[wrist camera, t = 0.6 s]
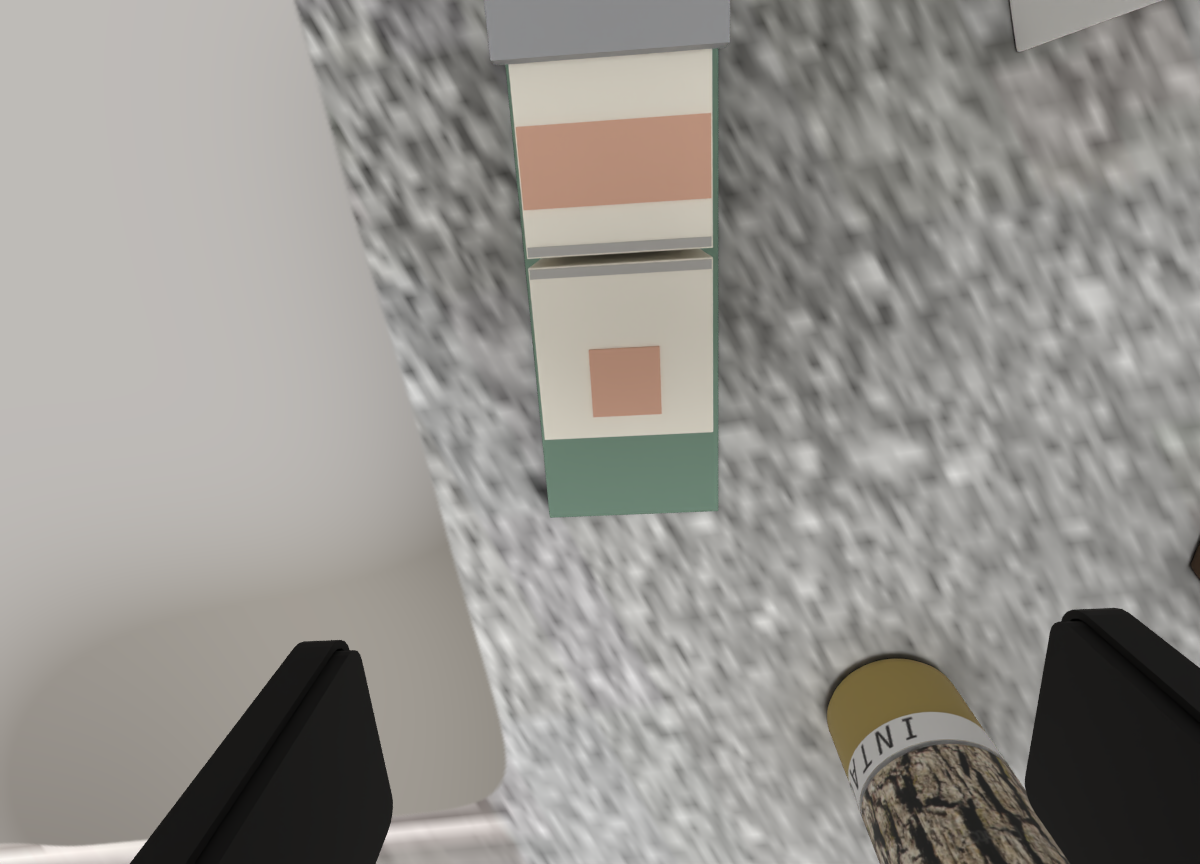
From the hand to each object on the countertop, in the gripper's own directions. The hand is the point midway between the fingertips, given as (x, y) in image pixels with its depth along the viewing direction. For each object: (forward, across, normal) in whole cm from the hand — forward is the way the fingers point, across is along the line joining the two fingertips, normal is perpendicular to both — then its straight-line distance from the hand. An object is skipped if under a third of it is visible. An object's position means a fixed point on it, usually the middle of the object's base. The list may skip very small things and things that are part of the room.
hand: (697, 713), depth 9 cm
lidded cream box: (+21, +1, -9) cm, 23 cm away
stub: (+20, +1, -2) cm, 21 cm away
